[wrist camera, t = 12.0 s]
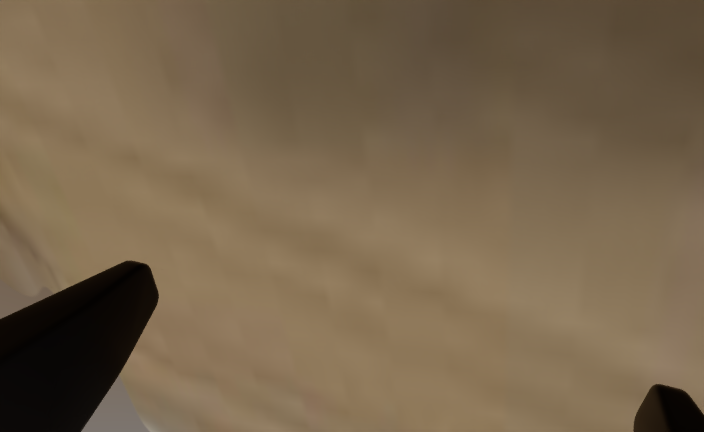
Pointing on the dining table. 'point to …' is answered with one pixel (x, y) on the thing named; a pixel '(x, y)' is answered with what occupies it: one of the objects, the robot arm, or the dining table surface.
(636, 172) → the dining table surface
